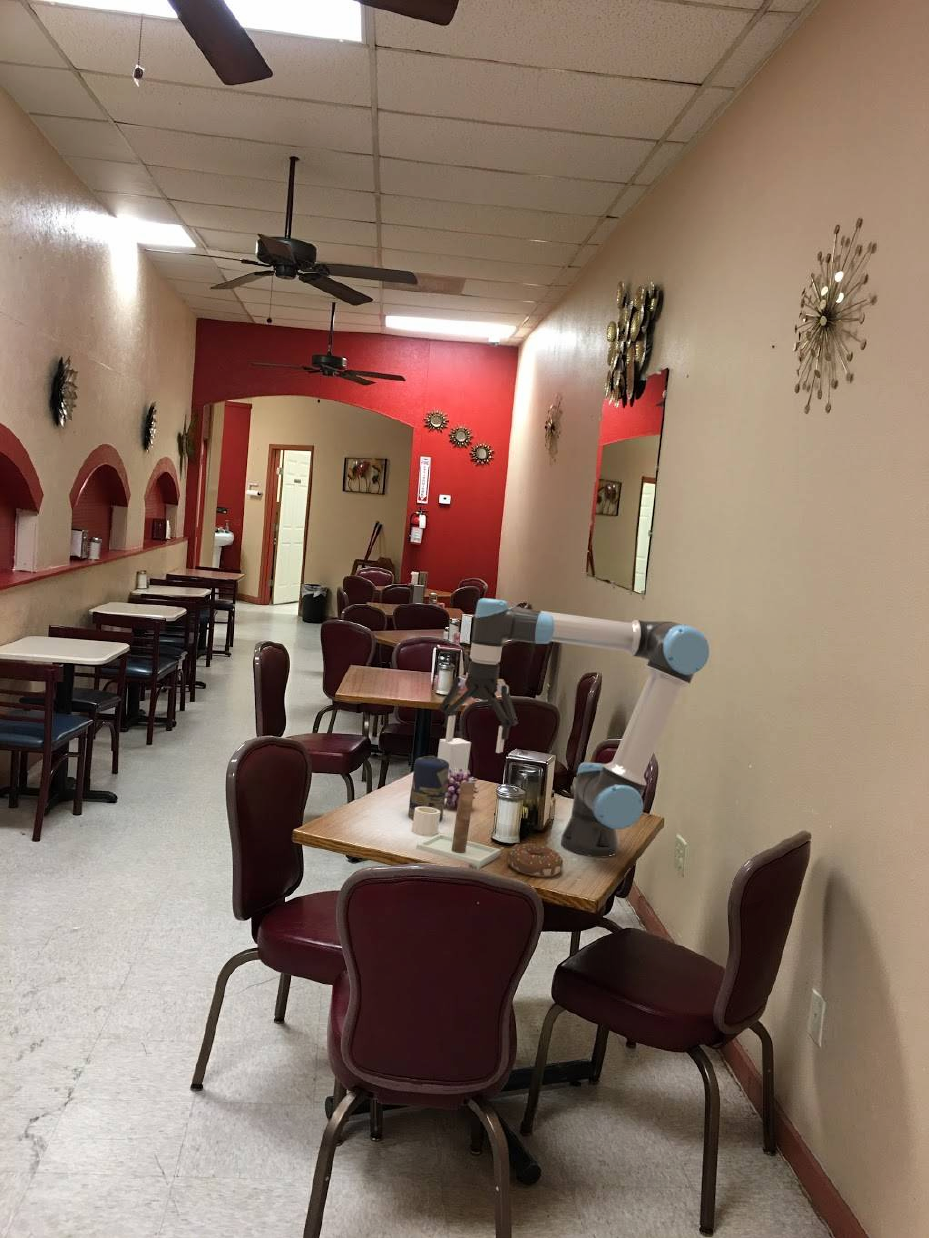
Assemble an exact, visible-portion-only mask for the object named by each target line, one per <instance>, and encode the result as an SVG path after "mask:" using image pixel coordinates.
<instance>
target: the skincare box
mask: <svg viewBox="0 0 929 1238" xmlns="http://www.w3.org/2000/svg"><path fill="white" fill-rule="evenodd" d="M445 740H446V738H440V739H439V744H438V750H437V751H438V752H437V758H439V759H443V760H446V761H447V762H448V763H449V769H451V771H452V772H454V768H457V770H458V771H459V769H460V768H462V772H463V773H464V772H466V771H467V770H469V768H468V767H469V760H470V753H471V746H472V742H471V741H467V740H465V739H463V738H459V737H457V738H455V737H453V741H451V742H445ZM449 774H450V773H449V772H448V775H449Z"/></svg>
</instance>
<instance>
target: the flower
mask: <svg viewBox="0 0 929 1238" xmlns="http://www.w3.org/2000/svg"><path fill="white" fill-rule="evenodd" d="M449 773H450V774H449V775H448V780H447V788H446V794H445V799H446V804H447V806H448V807H450V805H454V806H455V808H456V809H457V807H458V799H459V792H460V785H461V782H471V783H474V784H475V785H476V782H478V779H477V778H475V777H473V776H470V775H471V772H470V770H469V769H467V771H466V772H464V773H463V772H462V768H460V769H459V771H458V770H457V768H454V772H452V771H451V769H449ZM478 793H479V790H478V786H475V788H474V794H478ZM475 799H476V797H475V796H474V795H473V800H475ZM453 803H454V804H453Z"/></svg>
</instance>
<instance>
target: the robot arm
mask: <svg viewBox="0 0 929 1238" xmlns="http://www.w3.org/2000/svg"><path fill="white" fill-rule="evenodd" d="M508 604H509V603H508V602H507V601H506V600H503V599H495V598H485V597H483V598H480V599H479V600H478V601H477V603H476V609H475V614H474V622H473V632H472V641H471V647H470V654H469V658H470V661H469V663H468V670H467V678H463V676H456V677H455V678H454V681H453V685H452V686H451V688H450V690H449V691H448V693H447V695H446V696H445V698H444V699H443V701H442V702H441V704H440V706H439V707H438V711H439V712H442V713H443V714H444V715H445V716H444V723H443V726H444V728H446V732H445V734H446V735H445V739H446V740H445V742H451V741H453V738H454V731H455V726H456V725H455V724H456V717H457V716H456V715H455V714H454V713H455V712H457V710H458V709H460V707H462V705H464V704H465V703H466V702H467V701H469V699H470V698H472V699H474V700H476V699H479V700H481V701H487V702H488V704H490V706H491V708H492V709H493V711H494V713H495V714H496V716H497V719H499V721H500V723H501V725H499V726H498V732H497V733H498V735H497V740H496V749H495V753H497V754H500V753H503V752H504V745H505V741H506V740H508V739H509V734H510V727H511V726H516V725H518V724H519V722H518V717H517V714H516V712H515V708H514V704H513V702H512V699H511V696H510V695H511V694H510V685H508V684H505V685H502V684H501V685H500V684H499V683H498V680H499V674H500V664H499V663H500V662H501V657H502V650H503V643H504V642H503V641H504V640H507V641H514V642H515V641H517V642H525V643H532V644H533V643H534V644H535V645H538V644H542V645H543V644H544V645H547V644H549V643H550V642H555V643H560V644H561V643H563V644H569V645H575V646H584V647H591V648H598V649H599V648H600V649H605V650H613V651H620V652H626V653H627V654H628V655H629V656H631V657H637V658H641V659H644V660H647V661H648V662H647V664H646V666H645V667H646V669H647V673H648V677H647V680H646V682H645V684H644V686H643V688H642V691H641V694H640V696H639V699H638V700H637V703H636V704H635V708H634V710H633V712H632V714H631V717H630V719H629V722H628V724H627V725H626V729H625V731H624V733H623V735H622V737H621V739H620V742H619V745H618V748H617V749H616V752H615V754H614V757H613V759H612V760H611V761H610V762H608V763H602V762H601V763H599V762H587V761H586V762H581V763H580V764H579V765H578V768H577V772H576V779H575V780H576V781H575V787H574V796H573V803H572V808H571V816H570V818H569V820H568V822H567V825H566V827H565V828H564V831H563V833H562V835H561V840H560V845H561V846H562V847H563V848H564V849H566V850H568V851H571V852H573V853H576V854H579V855H584V856H588V855H590V857H595V856H609V855H613V854H616V853H617V854H618V850H619V842H618V841H619V840H618V836H617V830H623V829H627V828H630V827H631V826H633V825H634V824H636V823H637V821H639V819H640V817H641V816H642V814H643V810H644V801H643V798H642V797H643V794H644V791H645V789H646V786H647V781H646V778H645V773H646V771H647V768H648V765H649V764H650V761H651V759H652V756H653V755H654V752H655V750H656V748H657V745H658V743H659V740H660V738H661V735H663V731H664V729H665V726H666V724H667V722H668V719H669V717H670V715H671V712H672V710H673V709H674V706H675V703H676V701H677V699H678V696H679V694H680V692H681V690H682V688H685V687H687V686H690V684H691V682H692V679H693V677H694V675H695V674H696V673H698V672H699V671H701V670H702V669H703V668H704V667H705V665H706V664H707V662H708V659H709V658H710V657H709V656H710V646H709V642H708V640H707V638H706V636H705V635H704V634H703V633H702V632H701V631H700V630H698V629H697V628H695V627H693V626H690V625H687V624H682V623H678V622H675V621H666V620H665V621H663V620H661V621H651V620H640V619H639V620H638V619H633V620H632V621H631V622H625V621H618V620H617V621H616V620H612V619H611V620H610V619H603V618H597V617H596V618H595V617H589V616H581V615H574V614H567V613H560V612H552V611H545V610H537V609H531V608H525V607H521V606H512V607H508V606H509V605H508ZM464 685H465V687H466V689H467V690H465V692H464V693H463V694H462V695H461V696H460V697H459V698H458V699H457V700H456V701H455V702H454V703H452V702H453V701H454V699H455V697H456V696H457V694H458V693H459V691H460V689H461V688H462V687H464ZM497 691H498V692H499V694H500V696H501V699H502V704H503V706H504V709H505V710H504V709H503V707H502V705H501V703H500V702H499V698H498V696H496V694H495V693H497ZM450 705H451V706H450ZM617 854H616V855H617Z"/></svg>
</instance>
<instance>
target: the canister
mask: <svg viewBox="0 0 929 1238" xmlns="http://www.w3.org/2000/svg"><path fill="white" fill-rule="evenodd" d="M448 772H449V763H448V762H447V761H446V760H443V759H439V758H438V756H437V757H436V756H435V755H428V756H427V755H425V756H421V757H420V756H419V757H417V758H416V759H415V761H414V765H413V773H412V783H411V787H410V788H411V789H410V793H409V794H410V795H409V803H408V804H409V805H408V811H407V812H408V813H407V814H408V818H409V819H411V820H413V818H414V811H415V808H416V807H431V808H435V809H438V810H440V819H439V823H440V822H441V821H442V820H443V817H444V808H445V800H446V798H445V794H446V788H447V780H448Z"/></svg>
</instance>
